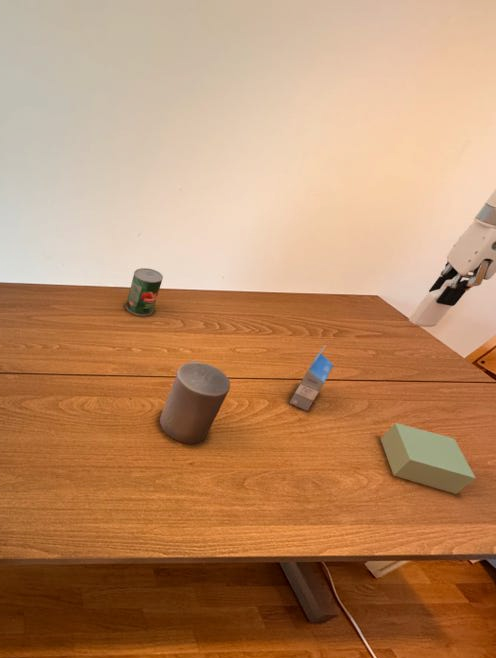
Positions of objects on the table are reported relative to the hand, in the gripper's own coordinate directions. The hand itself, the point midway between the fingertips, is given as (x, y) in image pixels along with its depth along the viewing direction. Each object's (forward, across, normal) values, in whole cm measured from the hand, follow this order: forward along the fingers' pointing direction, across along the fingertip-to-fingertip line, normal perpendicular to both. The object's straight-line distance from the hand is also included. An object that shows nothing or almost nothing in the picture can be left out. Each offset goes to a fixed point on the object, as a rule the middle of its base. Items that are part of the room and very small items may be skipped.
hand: (441, 298), depth 93 cm
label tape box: (+21, -21, +21) cm, 36 cm away
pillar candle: (+21, -42, +46) cm, 66 cm away
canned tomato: (+20, 0, +62) cm, 66 cm away
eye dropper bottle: (+7, 0, 0) cm, 7 cm away
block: (+21, -33, +2) cm, 39 cm away
